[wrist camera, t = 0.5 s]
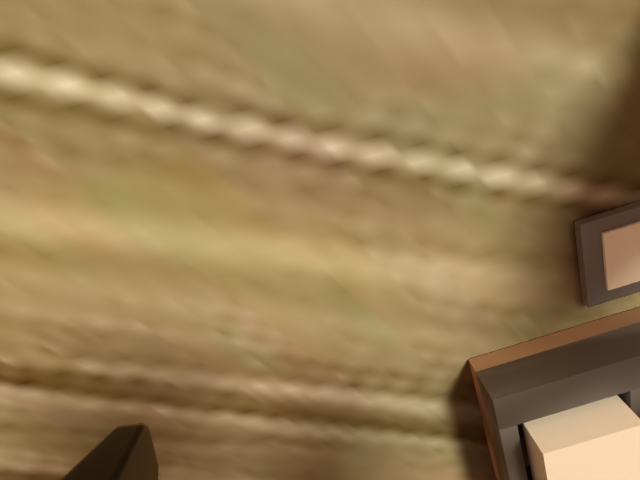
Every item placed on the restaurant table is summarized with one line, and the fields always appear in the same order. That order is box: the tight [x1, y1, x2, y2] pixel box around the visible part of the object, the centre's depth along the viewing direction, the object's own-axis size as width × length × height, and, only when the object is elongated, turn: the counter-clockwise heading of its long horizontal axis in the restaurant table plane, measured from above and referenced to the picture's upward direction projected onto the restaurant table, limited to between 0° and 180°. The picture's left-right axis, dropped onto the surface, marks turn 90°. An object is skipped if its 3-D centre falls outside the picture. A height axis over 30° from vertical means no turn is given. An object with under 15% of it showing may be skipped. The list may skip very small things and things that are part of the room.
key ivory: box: [522, 395, 640, 480], centre depth 23 cm, size 4×4×2 cm
